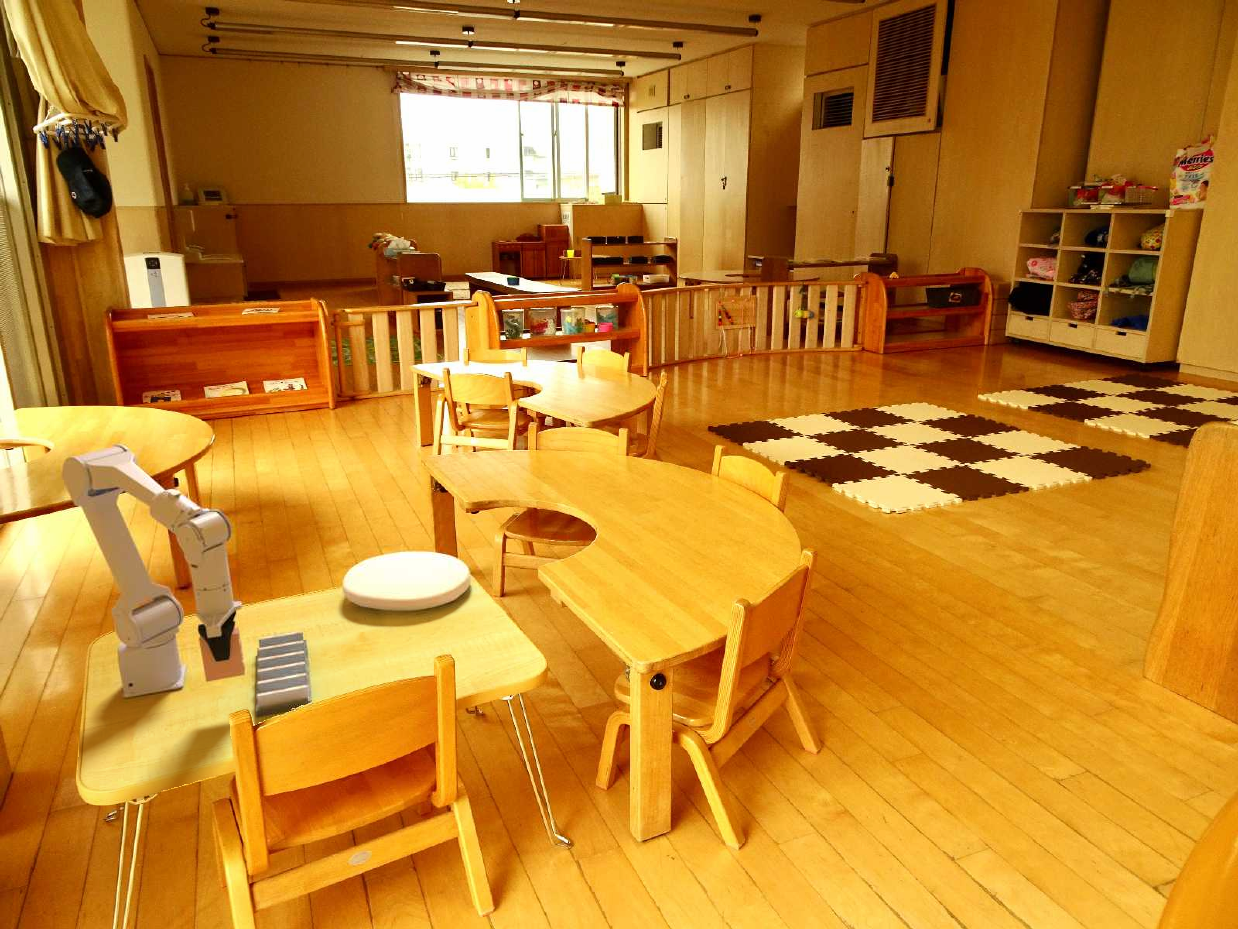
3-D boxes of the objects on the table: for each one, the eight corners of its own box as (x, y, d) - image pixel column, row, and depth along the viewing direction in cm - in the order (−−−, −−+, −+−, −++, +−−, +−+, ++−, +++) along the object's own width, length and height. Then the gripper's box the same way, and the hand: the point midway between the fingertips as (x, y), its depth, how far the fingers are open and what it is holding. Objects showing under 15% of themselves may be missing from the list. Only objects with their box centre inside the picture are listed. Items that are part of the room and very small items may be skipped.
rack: (256, 717, 145) (254, 699, 144) (258, 653, 166) (255, 637, 165) (312, 706, 148) (310, 688, 147) (306, 645, 169) (304, 628, 168)
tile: (206, 681, 144) (199, 640, 142) (207, 674, 147) (200, 633, 144) (244, 674, 147) (237, 633, 144) (244, 668, 149) (238, 627, 146)
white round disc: (465, 543, 207) (478, 591, 182) (463, 568, 208) (476, 618, 184) (344, 544, 199) (341, 593, 174) (344, 569, 200) (340, 622, 176)
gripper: (236, 597, 136) (247, 672, 140) (239, 563, 149) (249, 632, 153) (187, 604, 134) (200, 680, 138) (195, 569, 147) (206, 639, 151)
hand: (223, 655), depth 146 cm, fingers closed on tile, 2 cm apart
